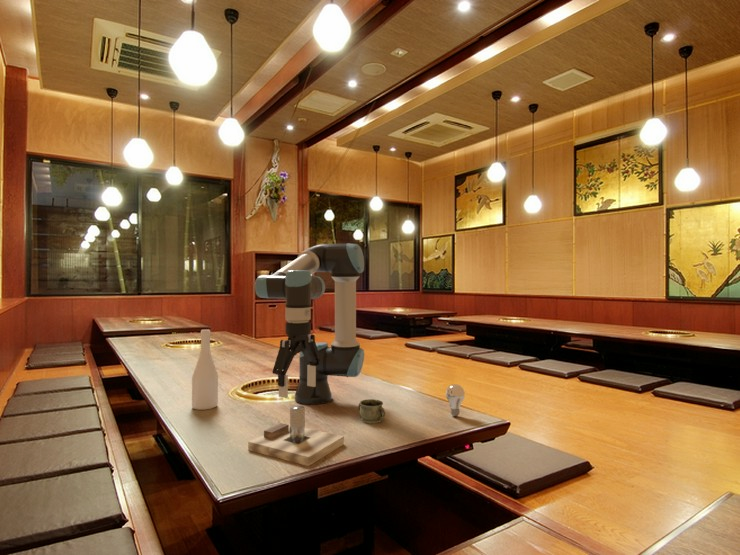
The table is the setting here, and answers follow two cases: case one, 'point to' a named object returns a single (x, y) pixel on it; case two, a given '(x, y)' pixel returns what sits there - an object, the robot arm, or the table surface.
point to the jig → (304, 453)
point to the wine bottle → (205, 377)
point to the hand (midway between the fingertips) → (297, 391)
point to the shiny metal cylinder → (297, 424)
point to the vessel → (371, 411)
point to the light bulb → (455, 398)
